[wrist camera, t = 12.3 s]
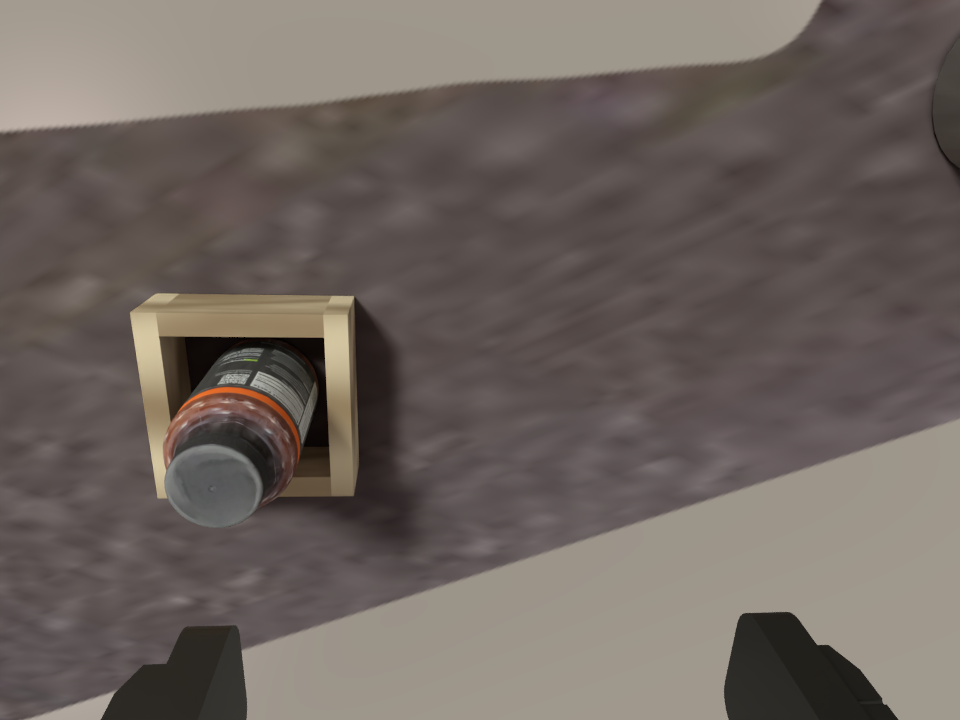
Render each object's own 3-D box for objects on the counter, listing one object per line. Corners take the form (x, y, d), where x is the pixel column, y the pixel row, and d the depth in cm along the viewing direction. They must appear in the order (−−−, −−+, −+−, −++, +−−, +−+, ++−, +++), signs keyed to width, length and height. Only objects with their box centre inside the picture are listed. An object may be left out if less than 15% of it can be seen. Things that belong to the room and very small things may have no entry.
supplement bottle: (255, 448, 40) (196, 572, 30) (191, 367, 38) (102, 469, 28) (342, 399, 40) (313, 509, 29) (281, 314, 37) (226, 398, 27)
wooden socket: (156, 293, 36) (129, 312, 33) (354, 296, 37) (347, 314, 34) (179, 465, 40) (157, 498, 37) (359, 464, 41) (353, 496, 38)
